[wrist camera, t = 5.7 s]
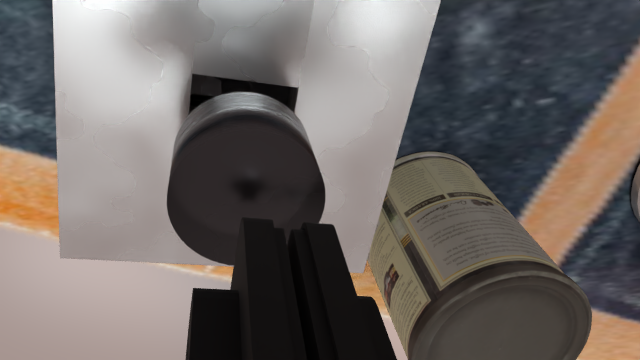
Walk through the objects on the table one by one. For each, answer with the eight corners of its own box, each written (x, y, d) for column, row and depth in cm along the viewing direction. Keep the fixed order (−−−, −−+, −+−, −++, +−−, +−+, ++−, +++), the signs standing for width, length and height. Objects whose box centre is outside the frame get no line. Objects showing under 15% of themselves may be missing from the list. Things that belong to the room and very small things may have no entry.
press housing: (410, -139, 30) (632, -151, 14) (341, 154, 38) (434, 355, 22) (54, -226, 26) (-199, -382, 10) (62, 125, 34) (-69, 349, 18)
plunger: (309, -34, 26) (426, 80, 12) (286, 101, 29) (356, 319, 15) (160, -62, 24) (89, 32, 10) (152, 84, 27) (89, 311, 13)
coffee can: (492, 238, 44) (597, 375, 32) (372, 281, 44) (432, 435, 32) (472, 128, 39) (589, 244, 27) (335, 178, 39) (391, 316, 27)
